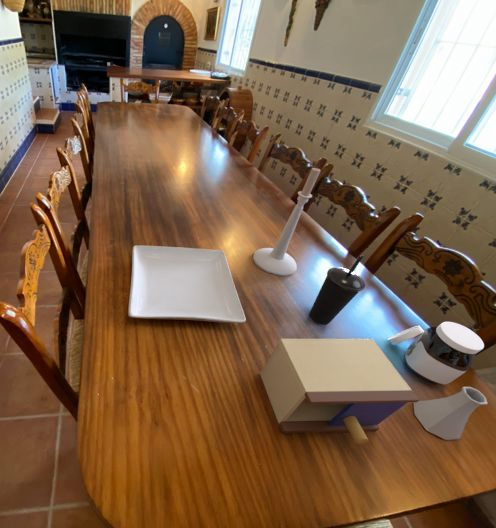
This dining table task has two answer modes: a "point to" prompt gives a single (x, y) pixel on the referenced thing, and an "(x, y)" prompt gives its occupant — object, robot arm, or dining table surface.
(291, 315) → the dining table surface
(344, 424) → the sliding door
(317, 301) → the drinking cup
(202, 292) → the square plate
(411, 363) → the spread jar
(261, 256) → the candlestick
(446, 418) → the flask
